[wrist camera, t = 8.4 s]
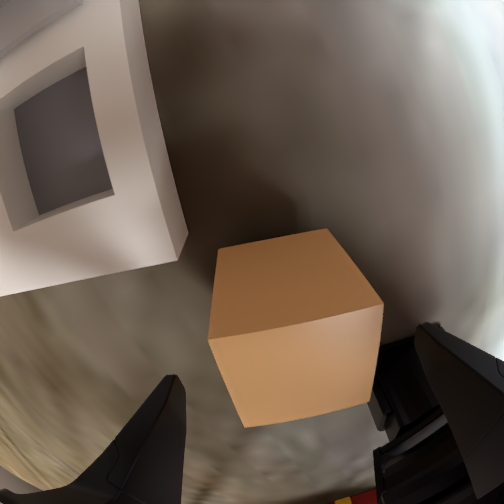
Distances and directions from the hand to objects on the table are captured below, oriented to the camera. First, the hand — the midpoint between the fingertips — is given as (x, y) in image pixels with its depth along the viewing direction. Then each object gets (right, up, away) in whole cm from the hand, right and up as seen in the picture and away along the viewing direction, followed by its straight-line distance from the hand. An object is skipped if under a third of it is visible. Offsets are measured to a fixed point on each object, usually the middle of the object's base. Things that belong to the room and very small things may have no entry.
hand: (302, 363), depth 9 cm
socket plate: (-13, +11, +1) cm, 18 cm away
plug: (0, +3, +6) cm, 7 cm away
